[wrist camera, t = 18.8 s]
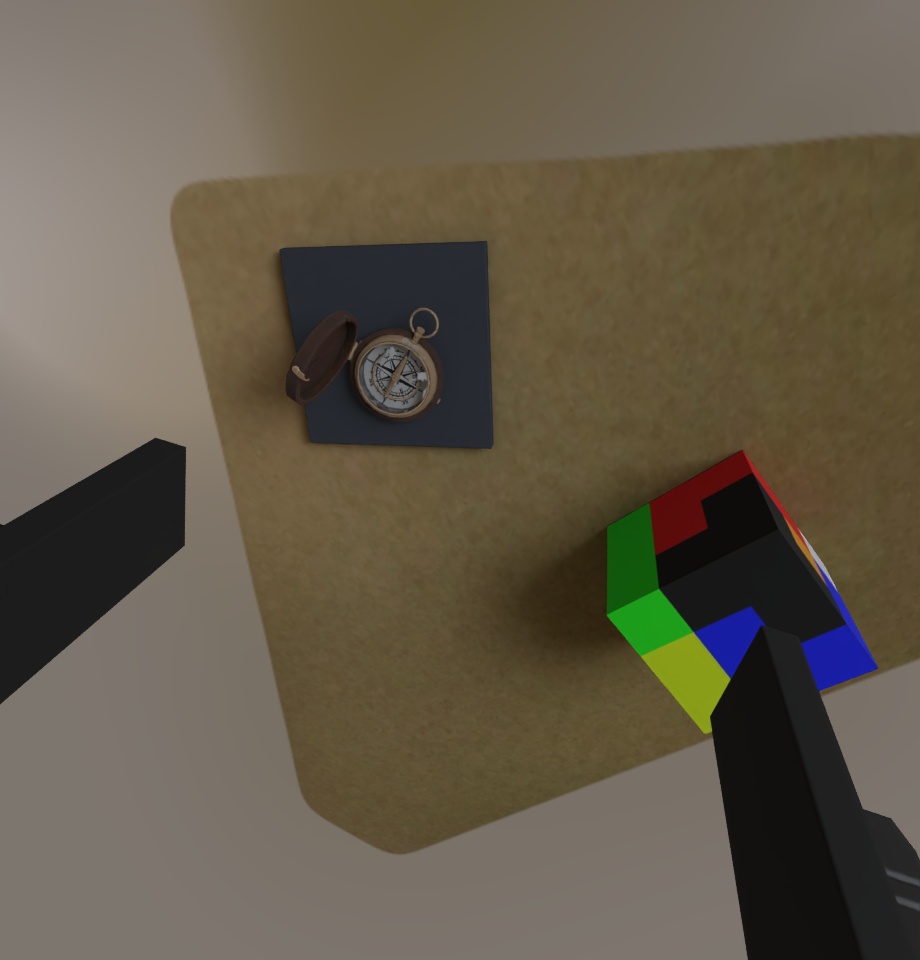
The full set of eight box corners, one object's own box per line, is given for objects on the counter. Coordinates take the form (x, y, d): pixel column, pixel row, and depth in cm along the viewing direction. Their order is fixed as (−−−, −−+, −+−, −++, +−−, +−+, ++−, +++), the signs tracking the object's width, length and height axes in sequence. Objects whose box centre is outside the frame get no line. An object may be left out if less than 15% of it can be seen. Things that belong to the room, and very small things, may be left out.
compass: (420, 434, 44) (387, 481, 38) (319, 372, 44) (268, 409, 37) (478, 334, 40) (453, 367, 34) (368, 265, 40) (321, 286, 33)
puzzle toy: (823, 564, 43) (878, 668, 34) (687, 627, 47) (705, 734, 38) (742, 449, 41) (778, 529, 32) (607, 526, 45) (606, 615, 36)
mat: (487, 241, 38) (484, 242, 38) (493, 444, 44) (491, 448, 43) (284, 247, 41) (279, 249, 40) (314, 438, 47) (310, 442, 46)
